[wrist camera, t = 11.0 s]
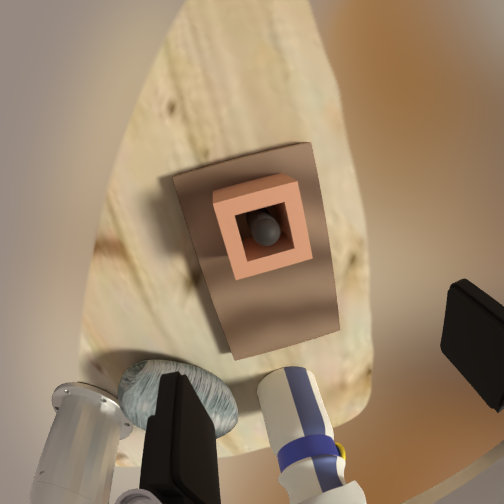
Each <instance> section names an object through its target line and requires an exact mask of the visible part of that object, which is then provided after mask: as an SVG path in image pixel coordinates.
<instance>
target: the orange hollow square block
mask: <svg viewBox="0 0 504 504" xmlns="http://www.w3.org/2000/svg"><path fill="white" fill-rule="evenodd" d="M271 205H275V206H276V210H277V215H278V219H279V223H280V228H281V229H280V237H279V239H278V240H277V242H276V243H274V244H273V245H270V246H262V245H260V244H258V243H257V242H256V241H255V240H254V238H253V236H252V237H248V238H244V239H241V237H240V233H239V230H238V226H237V222H236V219H235V215H238V214H241V213H245V212H249V211H252V210H256V209H260V208H263V207H267V206H271ZM213 206H214V210H215V213H216V216H217V220H218V223H219V226H220V230H221V233H222V237H223V240H224V243H225V247H226V250H227V253H228V256H229V260H230V263H231V266H232V270H233V273H234V276H235V279H236V280H239V279H242V278H246V277H250V276H253V275H257V274H260V273H264V272H267V271H271V270H274V269H278V268H281V267H285V266H288V265H292V264H295V263H299V262H302V261H306V260H309V259H313V257H312V252H311V246H310V241H309V235H308V230H307V225H306V220H305V215H304V210H303V205H302V200H301V195H300V191H299V186H298V181H296V180H294V179H293V178H291V177H289V176H287V175H285V174H284V173H279V174H274V175H271V176H267V177H263V178H259V179H255V180H251V181H247V182H244V183H240V184H236V185H233V186H229V187H225V188H222V189H218V190H215V191H213Z"/></svg>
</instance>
